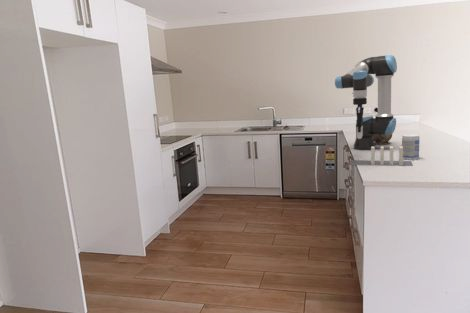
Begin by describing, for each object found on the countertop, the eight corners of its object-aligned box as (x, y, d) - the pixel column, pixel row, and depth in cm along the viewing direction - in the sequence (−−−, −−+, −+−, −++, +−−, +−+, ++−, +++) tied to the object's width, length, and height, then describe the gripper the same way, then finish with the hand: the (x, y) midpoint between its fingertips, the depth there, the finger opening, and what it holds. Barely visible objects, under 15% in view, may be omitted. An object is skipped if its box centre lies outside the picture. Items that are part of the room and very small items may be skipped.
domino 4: (389, 163, 205) (389, 146, 203) (392, 163, 204) (393, 146, 202) (389, 165, 200) (389, 148, 198) (393, 165, 199) (393, 147, 197)
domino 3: (380, 162, 206) (380, 146, 205) (383, 163, 206) (383, 146, 204) (380, 164, 202) (380, 148, 200) (383, 164, 201) (383, 148, 199)
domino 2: (371, 162, 208) (371, 146, 207) (374, 162, 208) (374, 146, 206) (371, 164, 204) (371, 148, 202) (374, 164, 203) (374, 148, 201)
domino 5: (398, 163, 203) (399, 146, 201) (402, 163, 202) (402, 146, 200) (399, 165, 198) (399, 147, 196) (402, 165, 197) (403, 147, 195)
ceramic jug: (366, 143, 275) (366, 105, 269) (382, 141, 279) (383, 103, 273) (381, 146, 259) (381, 106, 253) (398, 144, 263) (399, 104, 257)
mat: (351, 160, 219) (351, 160, 219) (411, 161, 206) (411, 161, 206) (349, 165, 207) (349, 164, 207) (412, 166, 194) (412, 165, 194)
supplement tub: (418, 160, 207) (419, 136, 204) (401, 160, 211) (401, 136, 208) (419, 157, 215) (419, 134, 212) (402, 157, 219) (402, 134, 217)
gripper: (354, 97, 213) (354, 134, 217) (351, 98, 197) (351, 139, 201) (367, 96, 210) (367, 134, 214) (365, 98, 194) (365, 139, 198)
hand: (359, 136), depth 208 cm, fingers closed on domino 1, 5 cm apart
